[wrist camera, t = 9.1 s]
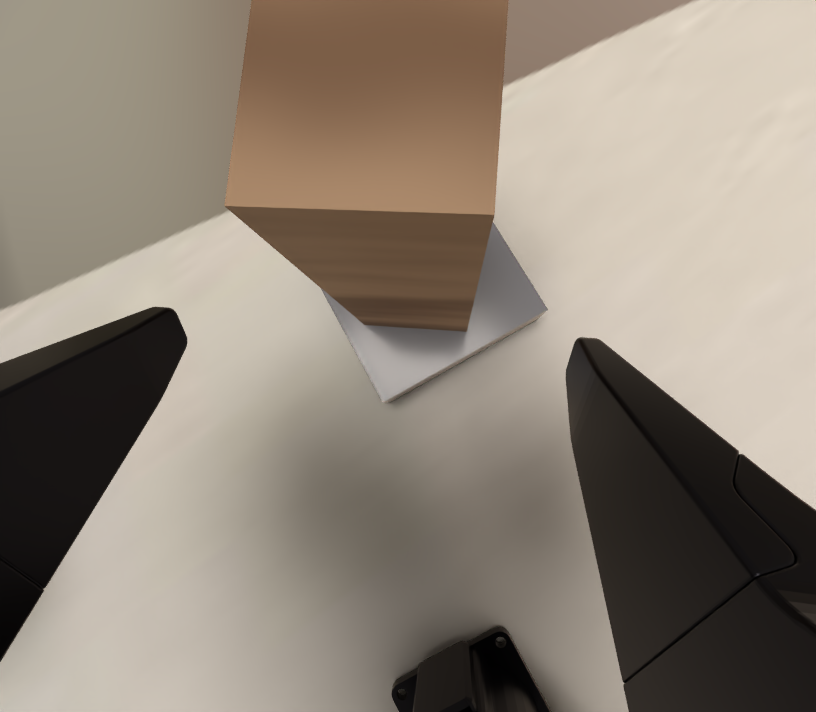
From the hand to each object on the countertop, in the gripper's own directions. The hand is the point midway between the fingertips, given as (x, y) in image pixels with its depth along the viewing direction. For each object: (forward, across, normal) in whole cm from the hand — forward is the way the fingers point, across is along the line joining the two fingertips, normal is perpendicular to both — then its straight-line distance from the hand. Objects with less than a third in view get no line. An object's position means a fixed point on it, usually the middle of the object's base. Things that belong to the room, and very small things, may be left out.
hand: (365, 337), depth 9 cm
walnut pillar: (+11, 0, +4) cm, 12 cm away
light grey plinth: (+12, 0, +6) cm, 14 cm away
